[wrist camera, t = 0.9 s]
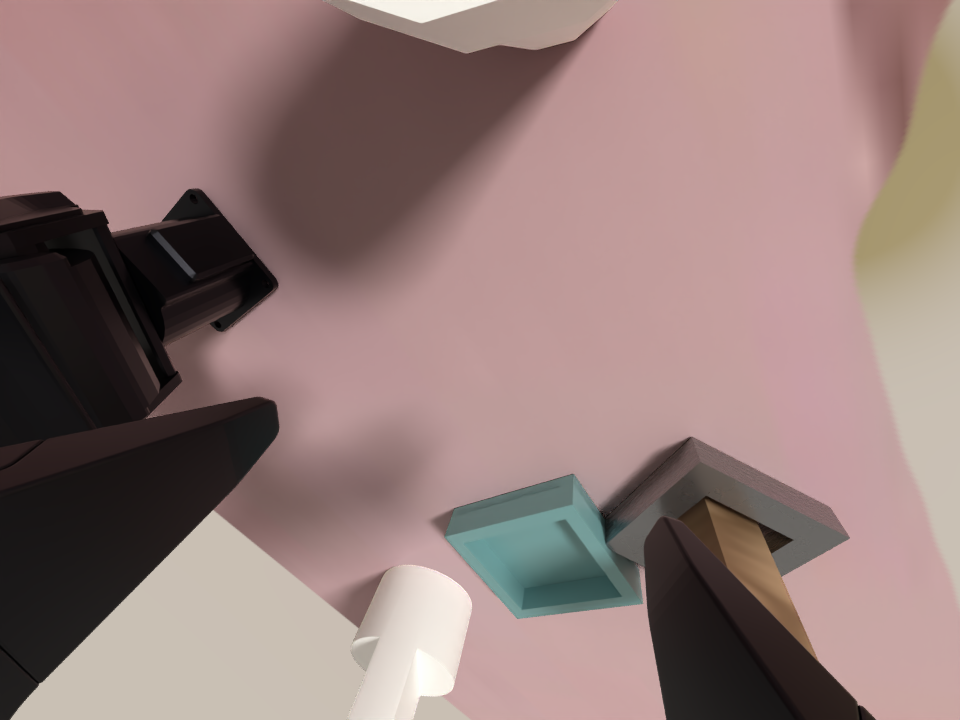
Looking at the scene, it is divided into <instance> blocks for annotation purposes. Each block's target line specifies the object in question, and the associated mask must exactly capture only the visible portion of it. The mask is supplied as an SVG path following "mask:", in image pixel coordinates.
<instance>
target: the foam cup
mask: <svg viewBox="0 0 960 720" xmlns="http://www.w3.org/2000/svg"><path fill="white" fill-rule="evenodd" d="M323 1H324V2H326V3H328V4H330V5H332V6H334V7H336V8H338V9H340V10H342V11H344V12H346V13H348V14H350V15H352V16H354V17H356V18H358V19H360V20H363V21H366V22H369V23H372V24H376V25H379V26H382V27H385V28H388V29H391V30H394V31H397V32H400V33H404V34H407V35H410V36H413V37H416V38H419V39H422V40H425V41H428V42H432V43H435V44H438V45H441V46H444V47H447V48H450V49H453V50H456V51H460V52H463V53H466V54H468V53H471V52H475V51H479V50H482V49H486V48H490V47H493V46H497V45H504V46H510V47H517V48H524V49H530V50H539V49H543V48H547V47H551V46H555V45H558V44H562V43H566V42H570V41H574V40H575V39H577V38H578V37H579V36H580V35H581V34H582V33H583V32H585V31H586V30H587V29H588V28H589V27H590V26H591V25H593V24H594V23H595V22H596V21H597V20H598V19H600V18H601V17H602V16H603V15H604V14H605V13H606V12H608V11H609V10H610V9H611V8H612V7H613V6H614V5H615V3H616V2H617V1H618V0H323Z"/></svg>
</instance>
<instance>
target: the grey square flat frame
mask: <svg viewBox="0 0 960 720" xmlns="http://www.w3.org/2000/svg"><path fill="white" fill-rule="evenodd" d="M705 496H708V497H710V498H712V499H714V500H716V501H718V502H720V503H722V504H724V505H726V506H728V507H730V508H732V509H734V510H736V511H738V512H740V513H742V514H744V515H746V516H748V517H750V518H752V519H754V520H756V521H758V522H759V523H760V524H758V525H759V528H760V530H761V532H762V534H763V537H764V539H765V541H766V543H767V546H768V548H769V550H770V553H771V555H772V557H773V559H774V562H775V564H776V566H777V568H778V571H779V573H780V575H781V577H782V576H784V575H785V574H787V573H789V572H791V571H792V570H794V569H796V568H798V567H800V566H801V565H803V564H805V563H807V562H809V561H810V560H812V559H814V558H816V557H817V556H819V555H821V554H823V553H825V552H826V551H828V550H830V549H832V548H833V547H835V546H837V545H839V544H841V543H842V542H844V541H846V540H848V539H850V537H849V536H848V534H847V532H846V531H845V529H844V528H843V526H842V525H841V523H840V522H839V520H838V519H837V517H836V516H835V514H834V513H833V511H832V510H831V508H830V507H828V506H826V505H824V504H822V503H820V502H818V501H816V500H814V499H812V498H810V497H808V496H806V495H804V494H803V493H801V492H799V491H797V490H795V489H793V488H791V487H789V486H787V485H785V484H783V483H781V482H779V481H777V480H775V479H773V478H771V477H769V476H767V475H765V474H763V473H761V472H759V471H758V470H756V469H754V468H752V467H750V466H748V465H746V464H744V463H742V462H740V461H738V460H736V459H734V458H732V457H730V456H728V455H726V454H724V453H722V452H720V451H718V450H716V449H715V448H713V447H711V446H709V445H707V444H705V443H703V442H701V441H699V440H697V439H695V438H693V437H691V438H690V439H689V440H688V441H687V442H686V443H685V444H684V445H683V446H681V447H680V448H679V449H678V450H677V451H676V452H675V453H674V454H673V455H672V456H671V457H670V458H669V459H668V460H667V461H666V462H664V463H663V464H662V465H661V466H660V467H659V468H658V469H657V470H656V471H655V472H654V473H653V474H652V475H651V476H650V477H649V478H647V479H646V480H645V481H644V482H643V483H642V484H641V485H640V486H639V487H638V488H637V489H636V490H635V491H634V492H633V493H632V494H630V495H629V496H628V497H627V498H626V499H625V500H624V501H623V502H622V503H621V504H620V505H619V506H618V507H617V508H616V509H614V510H613V511H612V512H611V513H610V514H609V515H608V516H607V517H606V518H605V519H604V520H605V540H606V546H607V547H608V549H610V550H612V551H614V552H616V553H618V554H620V555H622V556H624V557H626V558H628V559H630V560H632V561H634V562H636V563H638V564H640V565H642V566H644V567H645V565H644V542H645V539H646V537H647V535H648V534H649V532H650V531H651V529H652V528H653V526H654V525H655V523H656V522H657V520H658V519H659V518H660V517H661V516H667V517H671V518H674V519H678V518H679V517H680V516H681V515H683V514H684V513H685V512H686V511H688V510H689V509H690V508H691V507H693V506H694V505H695V504H696V503H698V502H699V501H700V500H701V499H703V498H704V497H705Z"/></svg>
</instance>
